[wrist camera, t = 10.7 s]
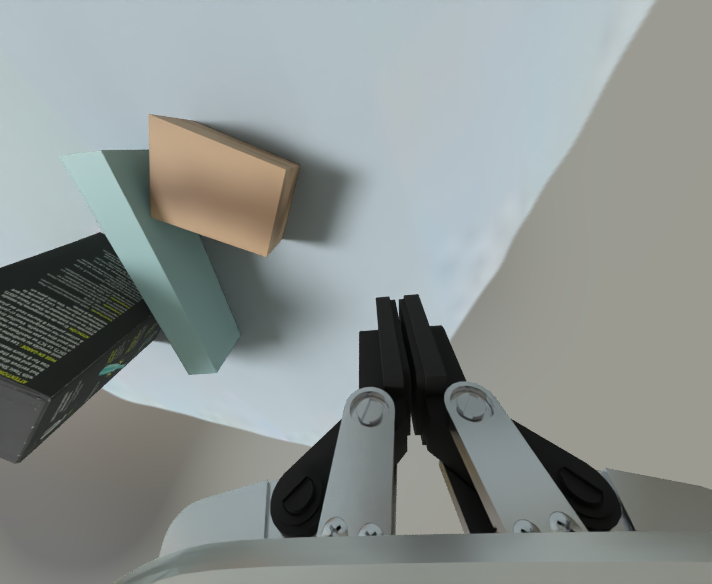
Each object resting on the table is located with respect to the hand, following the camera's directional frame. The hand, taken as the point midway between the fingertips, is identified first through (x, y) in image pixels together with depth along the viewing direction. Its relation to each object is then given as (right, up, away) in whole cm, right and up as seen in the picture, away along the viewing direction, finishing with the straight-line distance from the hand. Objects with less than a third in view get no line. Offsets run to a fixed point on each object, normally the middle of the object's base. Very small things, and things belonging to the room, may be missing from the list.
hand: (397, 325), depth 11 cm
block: (-12, +11, +13) cm, 20 cm away
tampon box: (-27, +1, +18) cm, 33 cm away
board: (-18, +5, +16) cm, 25 cm away
